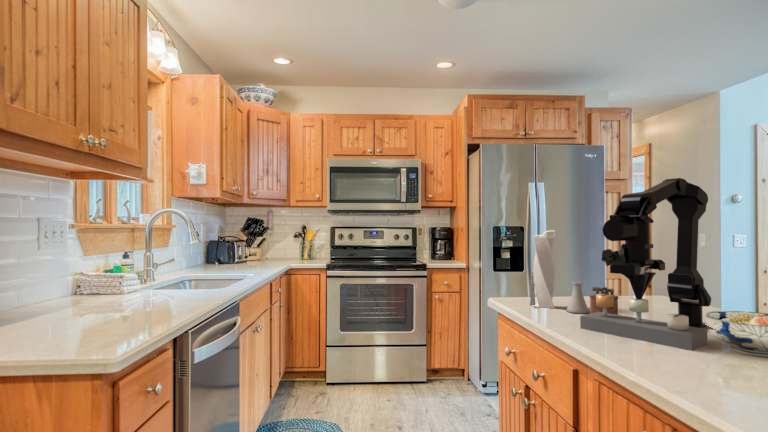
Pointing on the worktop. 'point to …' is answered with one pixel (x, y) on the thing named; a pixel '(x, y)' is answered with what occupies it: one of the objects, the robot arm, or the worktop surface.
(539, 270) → the skyscraper
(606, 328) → the knob mount
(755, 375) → the worktop surface
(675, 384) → the worktop surface
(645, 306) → the knob centre
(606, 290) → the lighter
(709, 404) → the worktop surface
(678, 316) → the knob
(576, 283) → the flask
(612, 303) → the knob
